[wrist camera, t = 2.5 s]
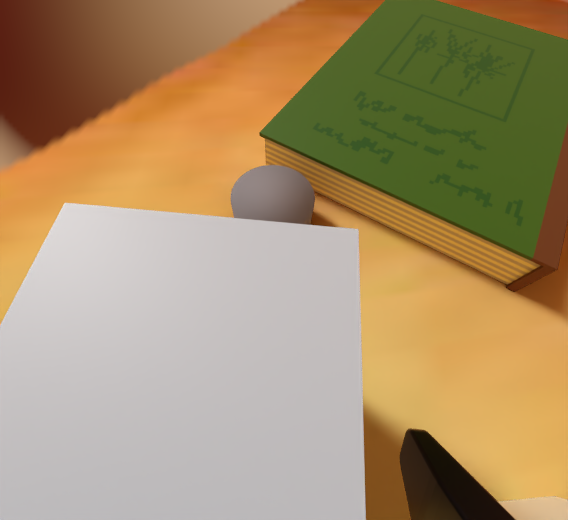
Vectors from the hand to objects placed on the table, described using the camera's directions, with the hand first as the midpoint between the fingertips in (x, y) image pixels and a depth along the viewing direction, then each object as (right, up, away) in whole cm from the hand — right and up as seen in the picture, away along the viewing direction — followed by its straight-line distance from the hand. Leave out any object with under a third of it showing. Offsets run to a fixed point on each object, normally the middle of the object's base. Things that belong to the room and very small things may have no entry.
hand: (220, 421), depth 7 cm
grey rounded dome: (+1, +6, +13) cm, 15 cm away
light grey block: (0, -4, +8) cm, 9 cm away
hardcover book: (+14, +15, +19) cm, 28 cm away
